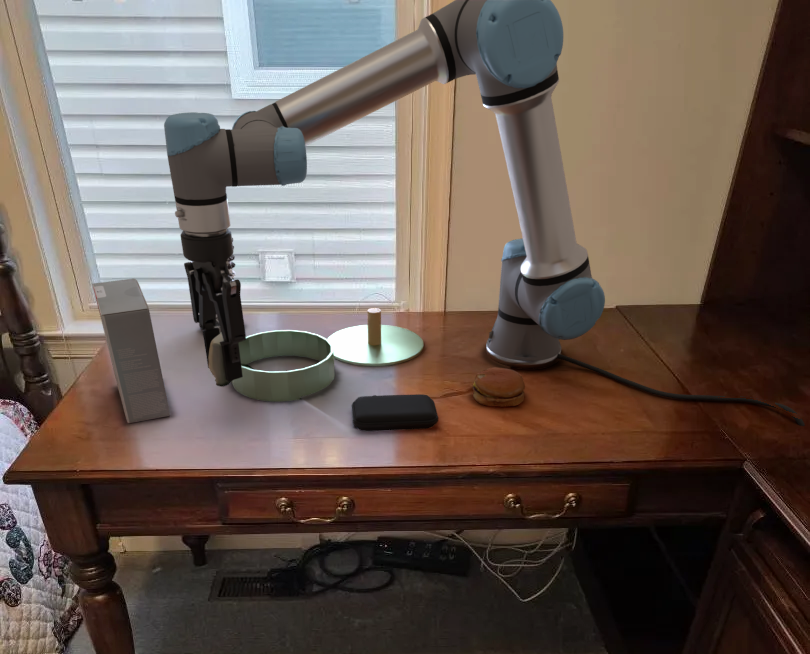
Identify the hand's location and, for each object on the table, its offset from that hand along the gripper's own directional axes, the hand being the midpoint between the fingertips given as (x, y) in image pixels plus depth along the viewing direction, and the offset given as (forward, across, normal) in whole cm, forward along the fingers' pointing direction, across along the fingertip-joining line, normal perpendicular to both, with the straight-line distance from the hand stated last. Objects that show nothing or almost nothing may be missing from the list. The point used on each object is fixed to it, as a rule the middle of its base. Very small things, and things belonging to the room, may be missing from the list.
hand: (225, 372), depth 127 cm
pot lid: (+8, -8, +38) cm, 40 cm away
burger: (+9, +24, +42) cm, 49 cm away
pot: (+9, -8, +16) cm, 20 cm away
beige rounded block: (+2, 0, 0) cm, 2 cm away
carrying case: (+9, +18, +22) cm, 30 cm away
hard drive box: (+9, -16, -9) cm, 21 cm away
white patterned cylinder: (+9, -37, +19) cm, 43 cm away
